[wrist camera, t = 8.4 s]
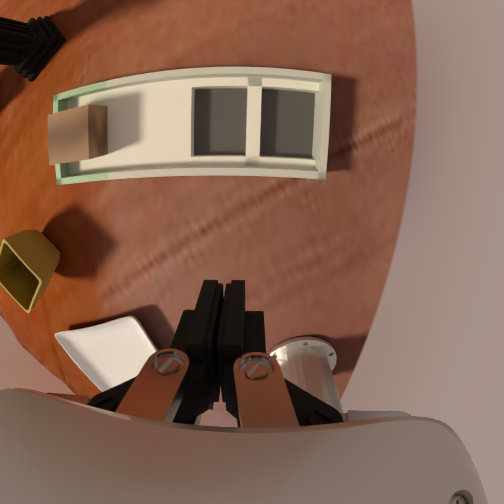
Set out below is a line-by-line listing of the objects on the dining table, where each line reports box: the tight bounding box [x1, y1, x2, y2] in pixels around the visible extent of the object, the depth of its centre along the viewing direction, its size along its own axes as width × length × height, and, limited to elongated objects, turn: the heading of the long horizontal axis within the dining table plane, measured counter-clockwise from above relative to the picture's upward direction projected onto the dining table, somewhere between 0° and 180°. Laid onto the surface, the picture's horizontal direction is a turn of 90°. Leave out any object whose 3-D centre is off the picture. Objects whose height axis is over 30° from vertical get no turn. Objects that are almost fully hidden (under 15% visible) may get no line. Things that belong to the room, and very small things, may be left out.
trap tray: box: [53, 67, 331, 185], centre depth 27 cm, size 12×32×4 cm, turn 88°
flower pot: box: [0, 230, 61, 313], centre depth 31 cm, size 9×9×9 cm
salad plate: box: [55, 316, 158, 392], centre depth 44 cm, size 21×21×3 cm
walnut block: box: [48, 105, 108, 165], centre depth 25 cm, size 6×6×4 cm
